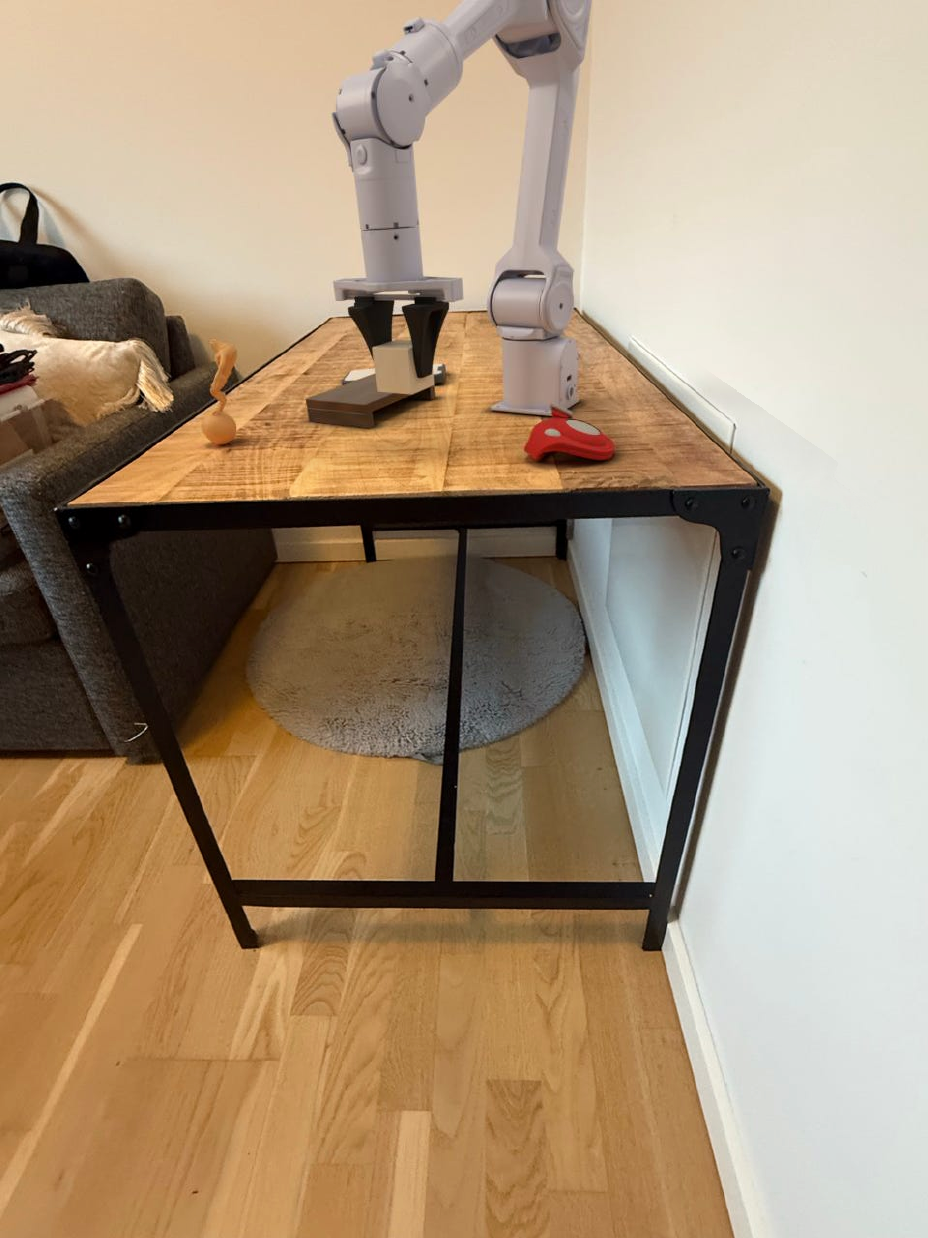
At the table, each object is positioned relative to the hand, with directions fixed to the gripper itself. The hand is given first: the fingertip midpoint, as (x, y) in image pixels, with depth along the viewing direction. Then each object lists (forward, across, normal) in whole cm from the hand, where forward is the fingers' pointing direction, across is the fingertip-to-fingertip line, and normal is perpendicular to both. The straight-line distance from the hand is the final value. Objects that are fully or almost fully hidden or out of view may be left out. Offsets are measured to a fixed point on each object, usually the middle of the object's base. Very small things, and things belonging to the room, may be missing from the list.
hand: (404, 374), depth 72 cm
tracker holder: (+9, +17, +6) cm, 20 cm away
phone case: (+9, -22, +29) cm, 37 cm away
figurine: (+8, -23, -5) cm, 25 cm away
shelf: (+8, -15, +14) cm, 22 cm away
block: (+1, 0, 0) cm, 1 cm away
